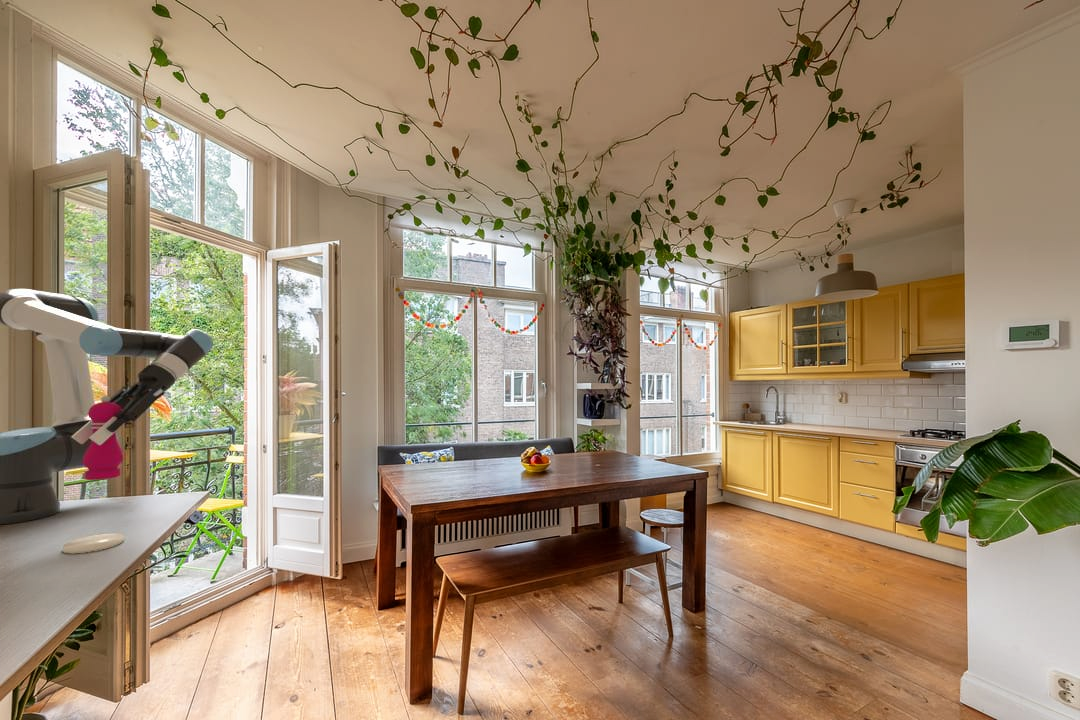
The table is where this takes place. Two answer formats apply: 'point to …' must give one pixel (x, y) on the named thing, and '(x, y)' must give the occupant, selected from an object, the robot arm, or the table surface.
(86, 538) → the cream dome
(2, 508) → the robot arm
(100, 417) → the pepper mill
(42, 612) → the table surface
